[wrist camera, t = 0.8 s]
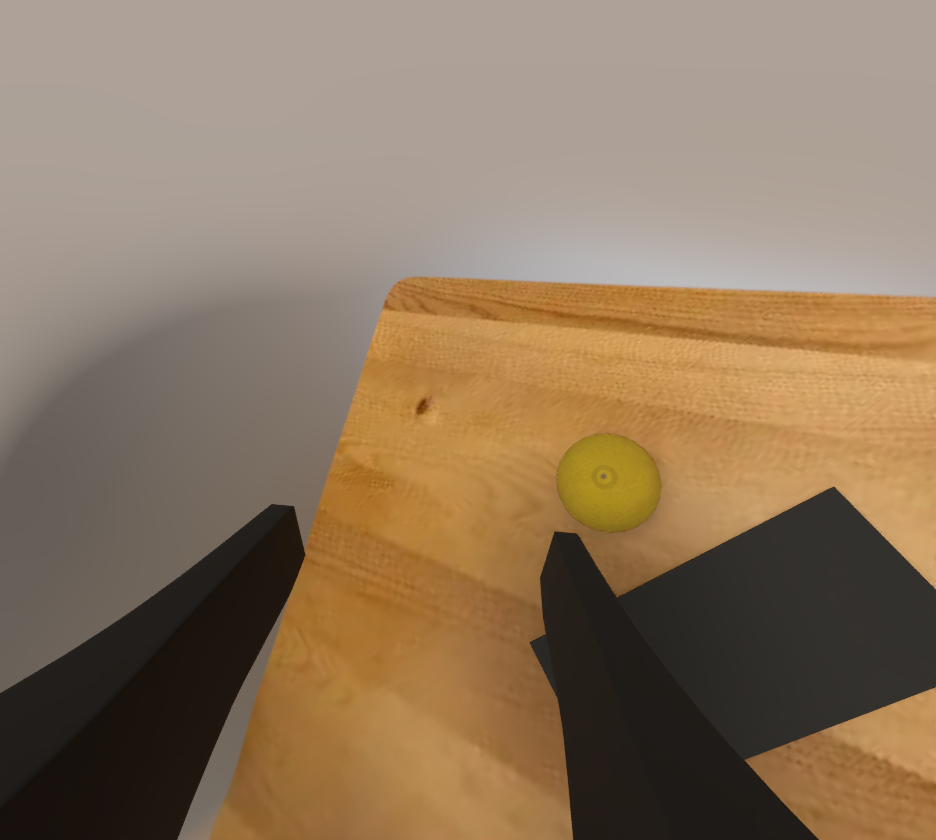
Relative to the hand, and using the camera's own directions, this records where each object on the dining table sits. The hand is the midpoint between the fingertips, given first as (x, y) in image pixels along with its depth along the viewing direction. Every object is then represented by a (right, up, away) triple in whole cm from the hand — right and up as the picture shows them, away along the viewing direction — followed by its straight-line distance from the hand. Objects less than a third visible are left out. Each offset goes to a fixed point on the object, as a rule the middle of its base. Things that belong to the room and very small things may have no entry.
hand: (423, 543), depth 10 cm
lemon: (+11, -1, +14) cm, 18 cm away
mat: (+16, -9, +10) cm, 21 cm away
